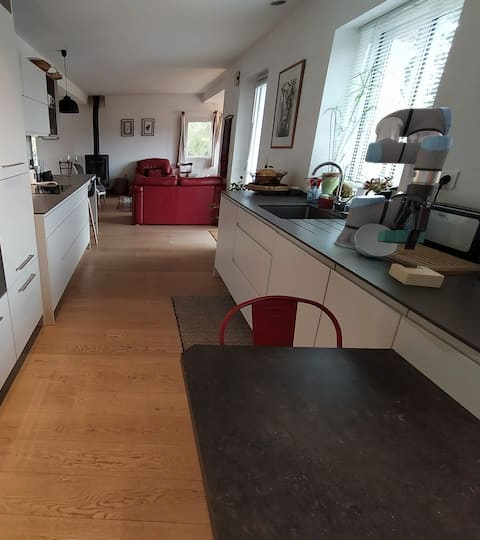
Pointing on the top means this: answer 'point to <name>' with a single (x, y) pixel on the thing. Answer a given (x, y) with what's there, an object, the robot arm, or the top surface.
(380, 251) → the chinaware
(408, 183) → the robot arm
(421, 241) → the teal star block
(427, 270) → the sand pad
